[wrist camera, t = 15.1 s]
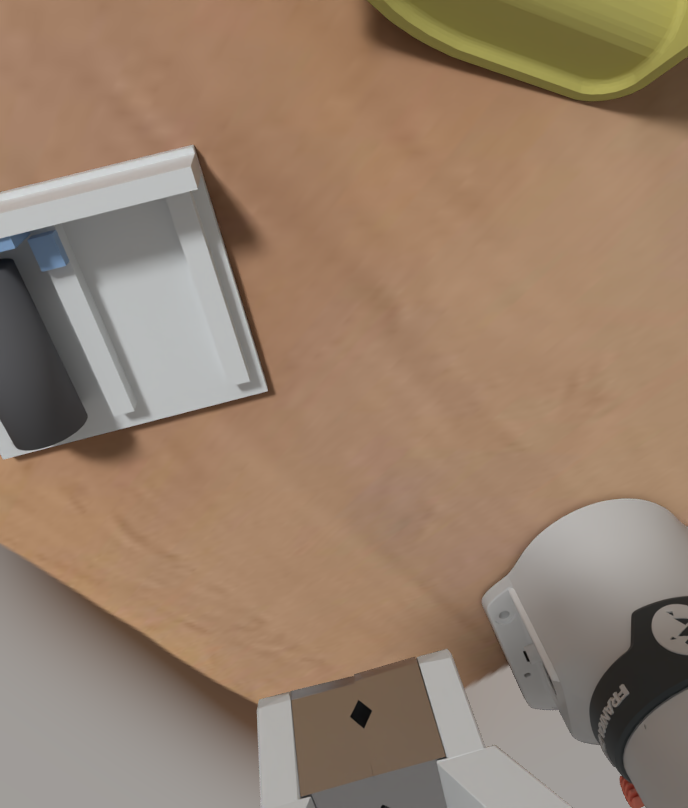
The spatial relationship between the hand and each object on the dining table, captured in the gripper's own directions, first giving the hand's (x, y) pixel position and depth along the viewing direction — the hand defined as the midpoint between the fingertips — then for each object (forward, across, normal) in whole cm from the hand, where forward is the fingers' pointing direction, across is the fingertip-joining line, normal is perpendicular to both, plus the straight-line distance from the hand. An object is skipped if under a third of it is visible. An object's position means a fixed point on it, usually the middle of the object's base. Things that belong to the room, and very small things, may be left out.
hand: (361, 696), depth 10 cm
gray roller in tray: (+28, +14, +2) cm, 32 cm away
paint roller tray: (+29, +10, +2) cm, 31 cm away
